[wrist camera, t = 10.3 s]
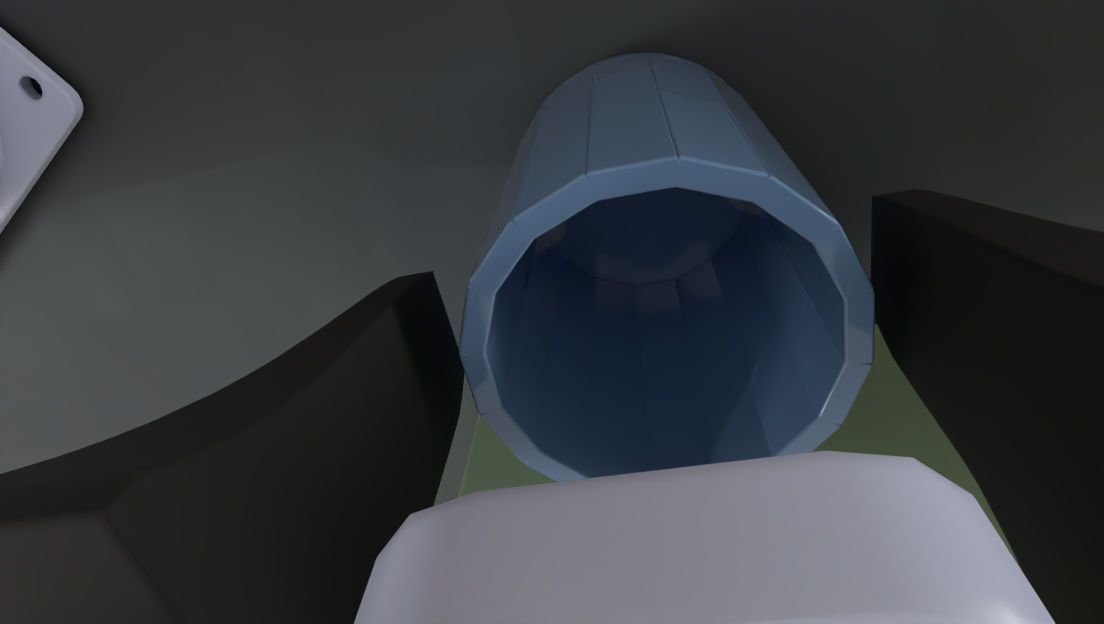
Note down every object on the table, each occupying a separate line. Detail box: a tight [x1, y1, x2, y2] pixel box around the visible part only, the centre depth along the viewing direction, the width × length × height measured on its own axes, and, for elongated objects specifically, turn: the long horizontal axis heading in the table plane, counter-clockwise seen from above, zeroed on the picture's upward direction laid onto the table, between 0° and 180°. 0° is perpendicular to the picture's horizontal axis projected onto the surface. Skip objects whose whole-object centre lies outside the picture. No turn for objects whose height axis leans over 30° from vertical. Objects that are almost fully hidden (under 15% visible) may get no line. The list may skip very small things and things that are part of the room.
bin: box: [458, 324, 1024, 574], centre depth 17 cm, size 9×11×8 cm
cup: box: [459, 53, 875, 482], centre depth 13 cm, size 6×6×8 cm
